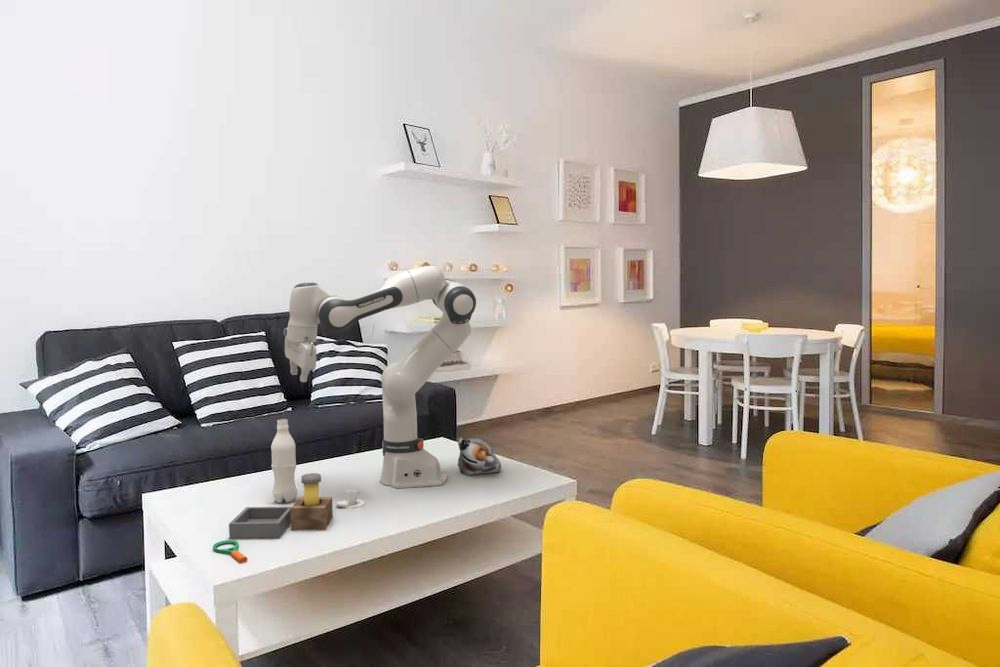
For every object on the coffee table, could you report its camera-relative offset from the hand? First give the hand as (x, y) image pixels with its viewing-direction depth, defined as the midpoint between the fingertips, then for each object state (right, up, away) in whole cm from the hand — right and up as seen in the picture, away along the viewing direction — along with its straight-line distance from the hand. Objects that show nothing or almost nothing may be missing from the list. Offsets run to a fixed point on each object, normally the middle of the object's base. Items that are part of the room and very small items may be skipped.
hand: (298, 378), depth 215 cm
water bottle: (-3, -38, -4) cm, 38 cm away
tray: (-1, -39, -28) cm, 48 cm away
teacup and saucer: (+15, -38, -7) cm, 42 cm away
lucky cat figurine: (+56, -35, +25) cm, 70 cm away
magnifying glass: (-4, -41, -44) cm, 60 cm away
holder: (+11, -39, -24) cm, 47 cm away
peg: (+11, -39, -24) cm, 47 cm away
